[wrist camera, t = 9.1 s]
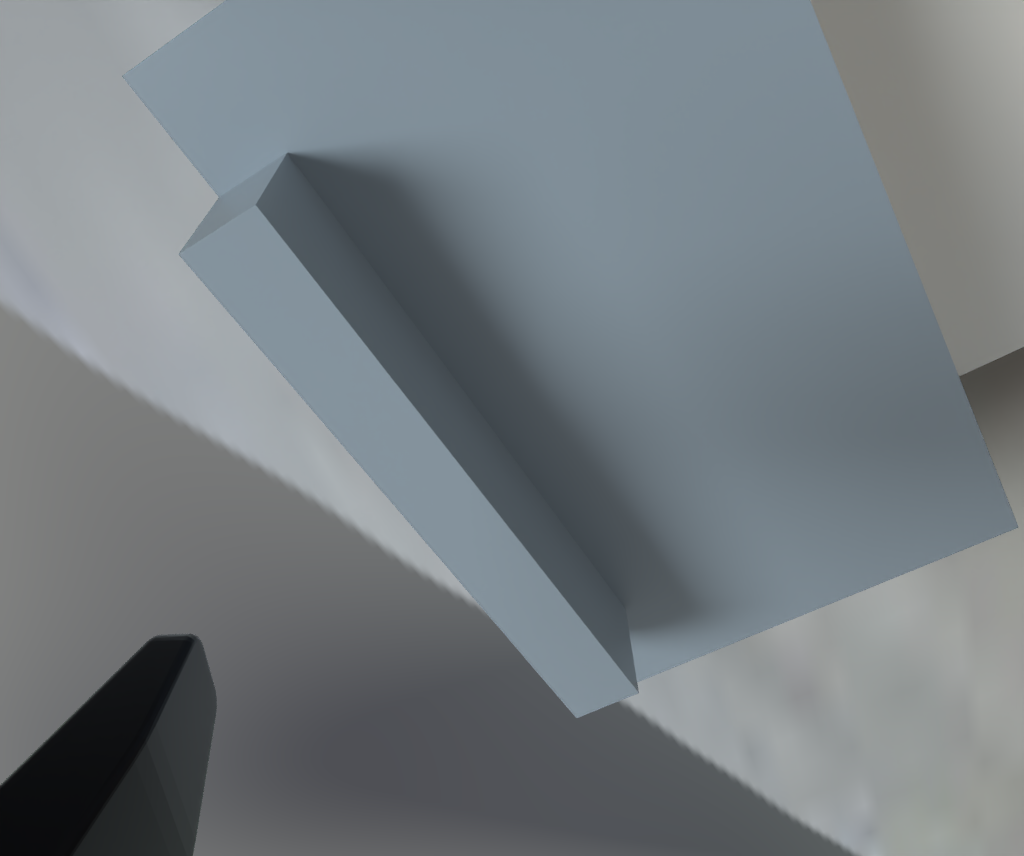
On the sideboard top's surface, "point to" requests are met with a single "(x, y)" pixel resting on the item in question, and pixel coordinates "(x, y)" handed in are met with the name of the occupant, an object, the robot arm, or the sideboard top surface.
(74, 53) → the sideboard top surface
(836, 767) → the sideboard top surface
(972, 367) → the housing
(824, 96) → the cabinet
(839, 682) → the sideboard top surface
